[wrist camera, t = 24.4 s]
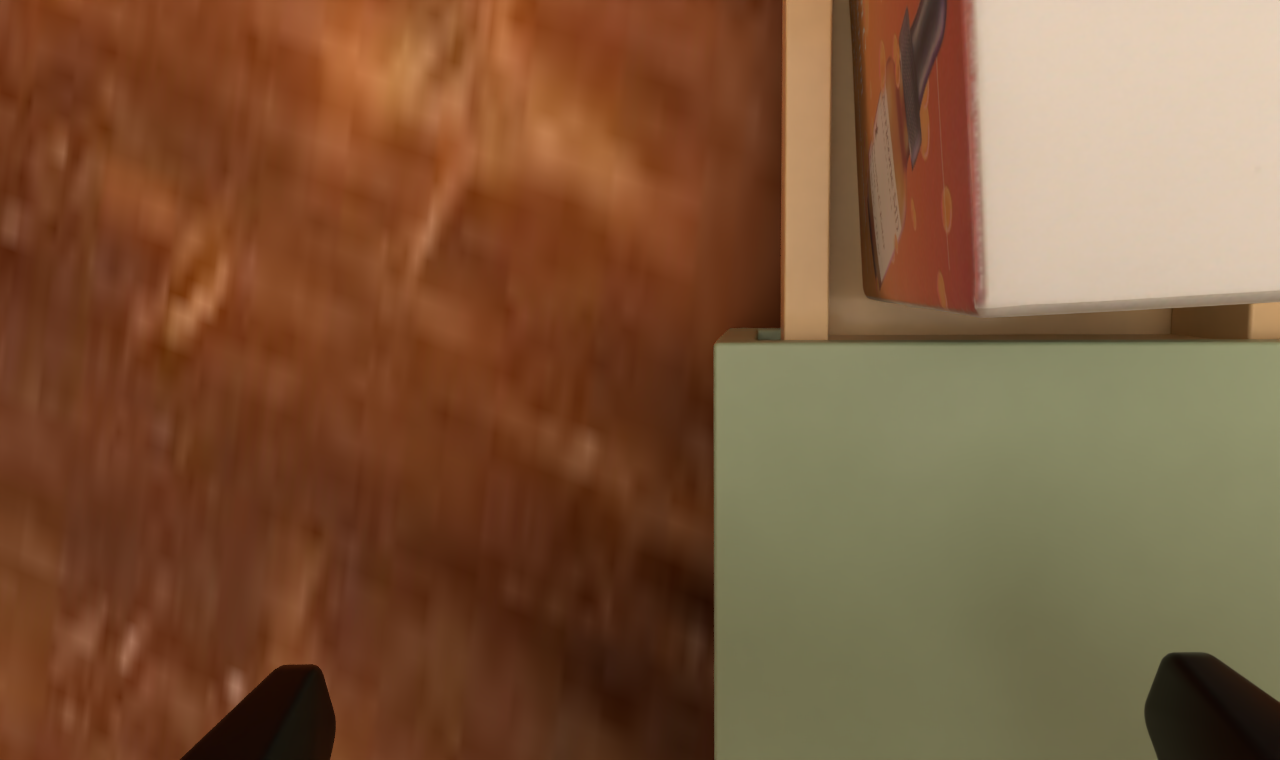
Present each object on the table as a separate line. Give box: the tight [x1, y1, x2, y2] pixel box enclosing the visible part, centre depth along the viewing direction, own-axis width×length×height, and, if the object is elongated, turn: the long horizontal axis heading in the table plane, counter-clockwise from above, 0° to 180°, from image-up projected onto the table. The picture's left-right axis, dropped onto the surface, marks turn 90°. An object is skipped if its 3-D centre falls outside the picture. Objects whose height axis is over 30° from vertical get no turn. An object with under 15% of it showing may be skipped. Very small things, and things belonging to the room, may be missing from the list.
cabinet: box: [714, 328, 1280, 760], centre depth 18 cm, size 13×11×6 cm
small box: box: [849, 0, 1280, 318], centre depth 13 cm, size 8×6×10 cm
